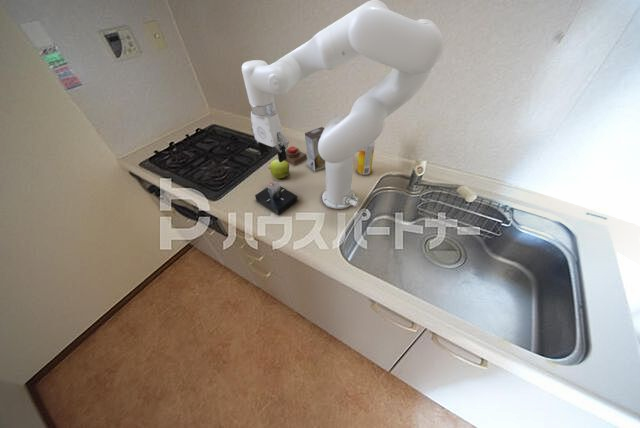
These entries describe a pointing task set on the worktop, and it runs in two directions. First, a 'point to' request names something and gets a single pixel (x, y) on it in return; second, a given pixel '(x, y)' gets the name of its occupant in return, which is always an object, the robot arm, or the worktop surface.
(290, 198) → the plate
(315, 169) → the coffee box
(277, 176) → the apple
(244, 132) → the worktop surface
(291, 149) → the drain button
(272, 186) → the tap knob
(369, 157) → the beer can
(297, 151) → the switch block
